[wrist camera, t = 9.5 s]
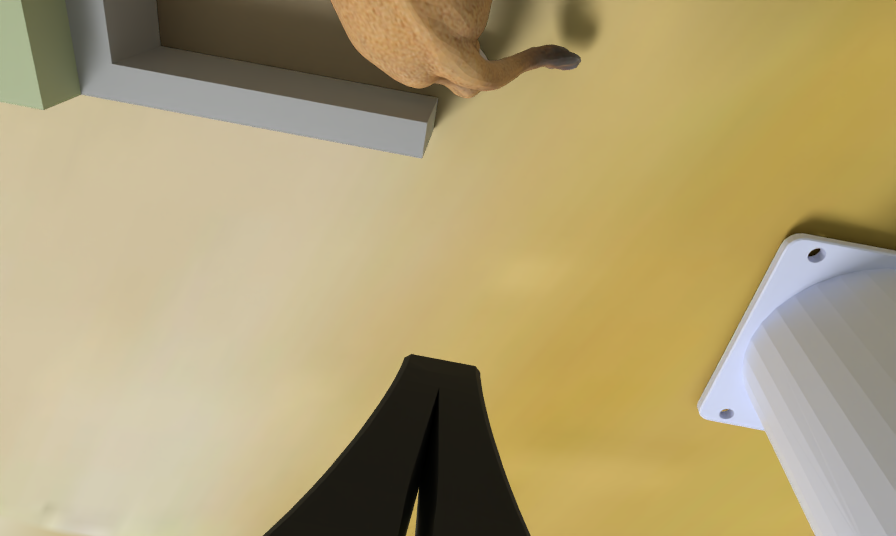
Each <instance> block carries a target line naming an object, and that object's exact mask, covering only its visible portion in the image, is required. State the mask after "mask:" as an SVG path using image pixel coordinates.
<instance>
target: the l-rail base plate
mask: <svg viewBox="0 0 896 536" xmlns="http://www.w3.org/2000/svg"><path fill="white" fill-rule="evenodd" d="M79 95H87V96H92V97H97V98H103V99H108V100H113V101H119V102H124V103H129V104H135V105H140V106H145V107H151V108H156V109H161V110H167V111H172V112H177V113H183V114H188V115H193V116H199V117H204V118H209V119H215V120H220V121H225V122H231V123H236V124H241V125H247V126H252V127H257V128H263V129H268V130H273V131H279V132H284V133H289V134H295V135H300V136H305V137H311V138H316V139H321V140H326V141H332V142H337V143H342V144H348V145H353V146H358V147H364V148H369V149H374V150H380V151H385V152H390V153H396V154H401V155H406V156H412V157H417V158H423V155H424V153H425V150H426V147H427V145H428V142H429V140H430V137H431V135H432V132H433V129H434V122H435V116H436V109H437V102H438V98H436V97H431V96H426V95H420V94H415V93H410V92H404V91H399V90H394V89H388V88H383V87H378V86H372V85H367V84H362V83H356V82H351V81H346V80H340V79H335V78H330V77H324V76H319V75H314V74H308V73H303V72H298V71H292V70H287V69H282V68H276V67H271V66H265V65H260V64H255V63H249V62H244V61H239V60H233V59H228V58H223V57H217V56H212V55H207V54H201V53H196V52H191V51H185V50H180V49H175V48H169V47H164V46H161V43H160V33H159V23H158V12H157V2H156V0H0V102H4V103H9V104H14V105H20V106H25V107H30V108H35V109H41V110H45V109H47V108H50V107H52V106H55V105H57V104H59V103H62V102H64V101H67V100H69V99H72V98H74V97H76V96H79Z"/></svg>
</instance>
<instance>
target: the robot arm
mask: <svg viewBox="0 0 896 536" xmlns="http://www.w3.org/2000/svg"><path fill="white" fill-rule="evenodd" d="M816 248H820V251H819V252H818V253H817V254H816V255H814V256H808V254H809V253H810V252H811V251H812V250H814V249H816ZM697 408H698V411H699V413H700V416H701V417H703V418H704V419H707V420H711V421H716V422H722V423H727V424H732V425H737V426H743V427H748V428H753V429H759V430H764V431H765V432H766V434H767V436H768V438H769V440H770V442H771V444H772V446H773V449H774V451H775V453H776V455H777V457H778V459H779V461H780V463H781V465H782V467H783V469H784V472H785V474H786V476H787V478H788V480H789V482H790V484H791V486H792V488H793V490H794V492H795V495H796V497H797V499H798V501H799V503H800V505H801V507H802V509H803V511H804V513H805V515H806V518H807V520H808V522H809V524H810V526H811V528H812V530H813V532H814V534H815V536H896V251H895V250H889V249H884V248H879V247H873V246H868V245H863V244H857V243H852V242H847V241H841V240H836V239H831V238H825V237H820V236H815V235H809V234H804V233H797V234H794V235H791V236H789V237H788V238H786V239H785V240H784V241H783V242H782V244H781V245H780V247H779V249H778V251H777V253H776V255H775V257H774V259H773V261H772V263H771V264H770V266H769V268H768V270H767V272H766V274H765V276H764V278H763V280H762V282H761V283H760V285H759V287H758V289H757V291H756V293H755V295H754V297H753V299H752V301H751V302H750V304H749V306H748V308H747V310H746V312H745V314H744V316H743V318H742V320H741V322H740V323H739V325H738V327H737V329H736V331H735V333H734V335H733V337H732V339H731V341H730V342H729V344H728V346H727V348H726V350H725V352H724V354H723V356H722V358H721V360H720V361H719V363H718V365H717V367H716V369H715V371H714V373H713V375H712V377H711V379H710V380H709V382H708V384H707V386H706V388H705V390H704V392H703V394H702V396H701V398H700V399H699V401H698V404H697ZM724 409H729V410H727V411H722V410H724ZM418 489H419V494H418V506H417V519H416V531H415V536H530V533H529V531H528V529H527V527H526V524H525V522H524V520H523V517H522V515H521V513H520V510H519V508H518V505H517V503H516V500H515V498H514V495H513V492H512V490H511V487H510V485H509V482H508V479H507V476H506V474H505V471H504V468H503V465H502V462H501V459H500V456H499V453H498V450H497V446H496V443H495V440H494V437H493V434H492V430H491V427H490V423H489V419H488V415H487V411H486V407H485V402H484V397H483V392H482V386H481V379H480V372H479V370H478V369H477V368H476V366H471V365H466V364H461V363H456V362H450V361H445V360H440V359H434V358H429V357H424V356H419V355H413V354H411V355H409V356H407V357H405V358H404V361H403V363H402V366H401V368H400V370H399V372H398V374H397V375H396V377H395V379H394V381H393V383H392V384H391V386H390V388H389V389H388V391H387V392H386V394H385V396H384V397H383V399H382V400H381V402H380V403H379V405H378V406H377V408H376V409H375V410H374V412H373V413H372V415H371V416H370V417H369V419H368V420H367V422H366V423H365V424H364V426H363V427H362V428H361V430H360V431H359V432H358V434H357V435H356V436H355V438H354V439H353V440H352V441H351V443H350V444H349V445H348V446H347V447H346V449H345V450H344V451H343V452H342V453H341V455H340V456H339V457H338V458H337V459H336V461H335V462H334V463H333V464H332V466H331V467H330V468H329V469H328V470H327V471H326V472H325V474H324V475H323V476H322V477H321V478H320V479H319V480H318V481H317V482H316V484H315V485H314V486H313V487H312V488H311V489H310V490H309V491H308V492H307V493H306V494H305V495H304V496H303V497H302V498H301V499H300V500H299V501H298V502H297V503H296V504H295V505H294V506H293V508H292V509H291V510H290V511H289V512H288V513H287V514H285V515H284V516H283V517H282V518H281V519H280V520H279V521H278V522H277V523H276V524H275V525H274V526H273V527H272V528H271V529H270V530H269V531H267V532H266V533H265V534H264V535H263V536H406V533H407V529H408V526H409V522H410V518H411V515H412V511H413V507H414V504H415V500H416V496H417V493H418Z"/></svg>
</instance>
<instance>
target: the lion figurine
mask: <svg viewBox="0 0 896 536" xmlns="http://www.w3.org/2000/svg"><path fill="white" fill-rule="evenodd" d="M330 1H331V3H332V5H333V7H334V9H335V11H336V13H337V15H338V17H339V19H340V21H341V23H342V25H343V28H344V30H345V32H346V34H347V36H348V38H349V39H350V41H351V42H352V44H353V46H354V47H355V48H356V49H357V50H358V51H359V53H360V54H361V55H362V56H363V57H365V58H366V59H367V60H369V61H370V62H371V63H373V64H374V65H375V66H377V67H378V68H379V69H381V70H382V71H383V72H385V73H386V74H388V75H389V76H390V77H392V78H393V79H395V80H396V81H398V82H400V83H402V84H404V85H406V86H409V87H413V88H425V87H428V86H430V85H432V84H434V83H437V84H442V85H444V86H446V87H448V88H449V89H450V90H451V91H452V92H453V93H454V94H455V95H457V96H460V97H463V98H471V97H473V96H475V95H477V94H478V93H479V92H480V91H490V90H496V89H499V88H501V87H503V86H505V85H506V84H508V83H509V82H511V81H512V80H514V79H515V78H517V77H518V76H519V75H520V74H522V73H524V72H526V71H529V70H532V69H536V68H539V67H544V66H545V67H547V68H549V69H554V68H556V69H561V70H571V69H574V68H576V67H577V66H578V65H579V63H580V62H581V58H580V57H579V56H578V55H577V54H575V53H572V52H569V51H568V50H567V49H566V48H564V47H561V46H557V45H544V46H540V47H532V48H529V49H527V50H525V51H523V52H520V53H517V54H515V55H513V56H509V57H506V58H503V59H500V60H492V61H489V60H488V59H487V57H486V56H485V54H484V53H483V51H482V50H481V49H480V44H479V42H478V38H479V36H480V35H481V34H482V32H483V31H484V29H485V27H486V24H487V21H488V17H489V12H490V7H491V2H492V0H330Z"/></svg>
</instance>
